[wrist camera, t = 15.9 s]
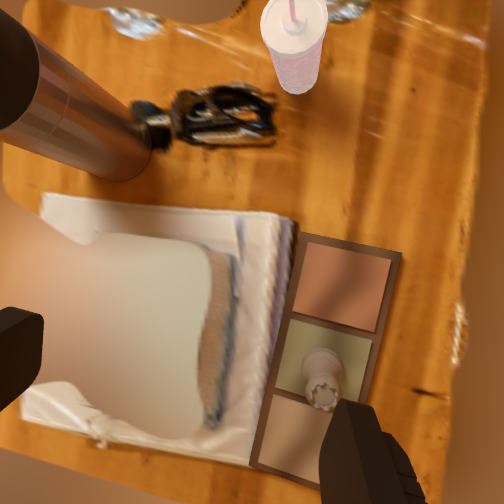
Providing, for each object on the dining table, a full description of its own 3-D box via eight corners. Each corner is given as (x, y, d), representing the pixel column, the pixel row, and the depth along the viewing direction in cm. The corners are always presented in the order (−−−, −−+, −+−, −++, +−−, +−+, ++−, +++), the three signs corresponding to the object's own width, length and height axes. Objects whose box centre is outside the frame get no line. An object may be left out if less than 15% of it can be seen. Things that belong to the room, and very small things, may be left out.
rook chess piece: (342, 347, 35) (351, 373, 27) (342, 387, 35) (350, 426, 27) (301, 344, 36) (298, 370, 28) (301, 384, 36) (297, 420, 28)
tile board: (250, 460, 39) (247, 467, 37) (301, 232, 38) (301, 231, 36) (342, 492, 37) (343, 502, 35) (399, 252, 36) (403, 252, 34)
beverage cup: (264, 90, 39) (236, 0, 25) (285, 42, 38) (269, -78, 24) (311, 108, 38) (309, 23, 24) (333, 58, 37) (345, -58, 23)
